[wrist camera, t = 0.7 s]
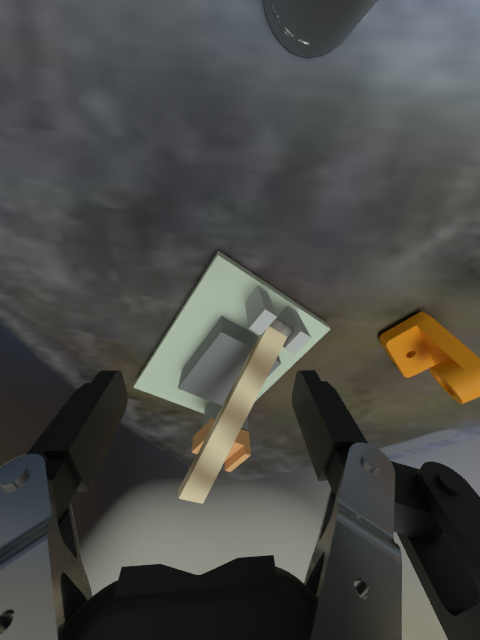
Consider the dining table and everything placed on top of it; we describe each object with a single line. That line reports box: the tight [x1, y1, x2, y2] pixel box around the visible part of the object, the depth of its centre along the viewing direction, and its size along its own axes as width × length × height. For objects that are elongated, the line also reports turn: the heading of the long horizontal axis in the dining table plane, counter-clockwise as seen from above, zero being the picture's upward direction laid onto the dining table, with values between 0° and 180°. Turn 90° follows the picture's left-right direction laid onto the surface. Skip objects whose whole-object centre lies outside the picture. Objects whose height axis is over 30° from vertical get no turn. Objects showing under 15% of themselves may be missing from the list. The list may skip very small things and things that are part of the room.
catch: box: [192, 418, 251, 472], centre depth 35 cm, size 6×7×4 cm
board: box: [134, 251, 330, 431], centre depth 34 cm, size 27×20×8 cm
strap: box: [178, 317, 292, 504], centre depth 26 cm, size 23×3×2 cm, turn 144°
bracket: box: [380, 311, 480, 404], centre depth 34 cm, size 11×7×12 cm, turn 39°
